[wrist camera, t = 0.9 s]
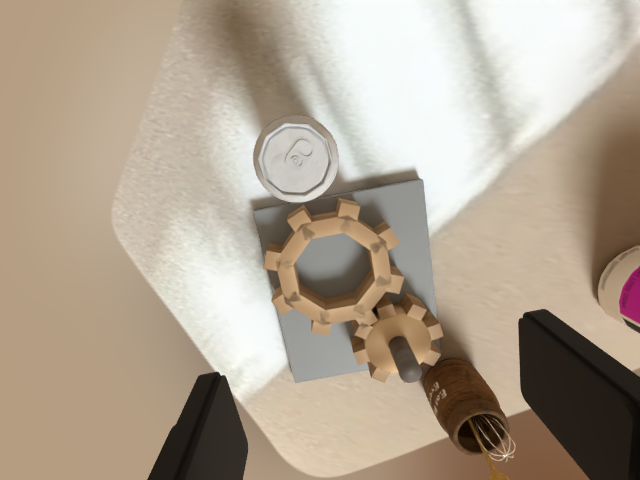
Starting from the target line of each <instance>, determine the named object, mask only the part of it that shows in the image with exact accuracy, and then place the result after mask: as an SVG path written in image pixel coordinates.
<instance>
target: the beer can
mask: <svg viewBox="0 0 640 480" xmlns="http://www.w3.org/2000/svg"><path fill="white" fill-rule="evenodd" d="M253 161H254V167H255V171H256V175H257V177H258V179H259V180H260V182H261V184H262V185H263V187H264V188H265V189H266V190H267V191H268V192H270V193H271V194H272V195H274V196H275V197H277V198H279V199H281V200H285V201H288V202H306V201H309V200H312V199H315V198H317V197H318V196H320V195H321V194H323V193H324V192H325V191H326V190H327V189H328V188H329V187H330V185H331V184H332V182H333V181H334V179H335V176H336V173H337V171H338V164H339V155H338V149H337V145H336V142H335V140H334V138H333V136H332V135H331V133H330V132H329V131H328V130H327V129H326V128H325V127H324V126H323V125H322V124H321V123H319V122H318V121H316V120H315V119H312V118H310V117H306V116H302V115H288V116H284V117H281V118H279V119H276V120H275V121H273V122H272V123H270V124H269V125H268V126H267V127H266V128H265V129H264V130H263V131H262V132H261V134H260V136H259V138H258V139H257V141H256V145H255V148H254V154H253Z"/></svg>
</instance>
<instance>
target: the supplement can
mask: <svg viewBox="0 0 640 480" xmlns="http://www.w3.org/2000/svg"><path fill="white" fill-rule="evenodd" d="M598 297H599V304H600V305H601V307H602V308H603V310H604V311H605V313H606V314H607V315H609V316H611V317H612V318H614V319H616V320H617V321H619V322H621V323H623V324H624V325H626V326H628V327H629V328H631V329H633V330H635V331H636V332H638V333H640V245H638V246H635V247H633V248H631V249H629V250H627V251H625V252H623V253H621V254H619V255H618V256H616V257H615V258H614V259H613V260H612V261H611V262H610V263H609V264H608V265H607V266H606V268H605V269H604V271H603V273H602V274H601V276H600V281H599V285H598Z"/></svg>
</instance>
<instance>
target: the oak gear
mask: <svg viewBox="0 0 640 480" xmlns="http://www.w3.org/2000/svg"><path fill="white" fill-rule="evenodd" d="M359 211H360V206H359V204H358V203H357V202H355V201H351V200H346V199H341V198H338V203H337V207H336V211H334V212H329V213H323V214H318V215H313V216H311V214H310V213H309V211H308V210H307V208H306V207H305V205H302V206H301V207H299V208H298V209H296V210H295V211H293V212H292V213H290V214H289V215H288V219H287V221H288V223H289V224H290V226H291V227H292V228H293V231H292V233H291V234H290V236H289V237H288V238H287V240H286V241H285V243H284V244H283V245H281V244H276V243H271V242H270V244H269V246H268V249H267V252H266V257H265V263H264V268H263V269H269V270H274V271H278V275H279V280H280V284H281V286H279V287H278V288H276V289H274V293H273V297H272V303H273V304H274V305H275V307H276V308H277V309H278V311H279V312H280V313H281V314H282V315H283V314H285V313H287V312H288V311H290V310H292V309H293V308H294V309H295V310H297V311H299V312H300V313H302V314H304V315H305V316H307V317H309V318H310V319H311V333H317V334H322V335H328V336H329V333H330V329H331V325H332V324H334V323H339V322H345V321H350V320H356V321H357V322H358V323H359V325H360V324H361V325H363V326H364V325H365V326H364V327H366V324H367V326H369V325H371V324H373V323H375V322H376V321H378V319H377V317H376V314H375V311H374V309H373V307H374V306H375V305H376V304H377V302H378V301H379V300H380V299H381V297H382V296H383V295H384V293H385V292H386V291H387V292H392V293H397V294H399V293H400V290H401V287H402V283H403V280H404V276H403V274H402V273H401V272H400V270H399V269H398V267H395V266H390V264H389V257H388V250H390V249H391V248H393V247H395V246H396V245H398V244H400V242H399V241H398V239H397V237H396V236H395V234H394V232H393V231H392V229H391V228H390V226H389V225H388V224H387V223H386V222H385V221H383V222H382V223H380V224H379V225H377V226H375V227H374V228H372V227H370V226H369V225H367V224H366V223H364V222H363V221H361V220H360V219H359V218H358V215H359ZM341 233H345V234H347V235H348V236H350V237H351V238H353V239H354V240H356V241H357V242H359V243H360V244H362V245H363V246H365V247H366V248H367V252H368V259H369V265H370V271H369V272H368V274H367V275H366V276H365V278H364V279H363V280H362V282H361V283H360V284H359V285H358V287H357V288H356V289H355V291H354V292H353V293H349V294H343V295H338V296H333V297H327V298H324V297H322V296H320V295H319V294H317V293H316V292H314V291H312V290H311V289H309V288H308V287H306V286H304V285H303V284H301V283H300V279H299V275H298V270H297V265H296V260H297V259H298V257H299V256H300V255H301V253H302V252H303V250H304V249H305V247H306V246H307V245H308V243H309V242H310V240H311V239H314V238H319V237H325V236H330V235H335V234H341ZM364 323H365V324H364ZM364 327H362V326H361V328H362V329H363V328H364Z"/></svg>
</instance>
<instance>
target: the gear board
mask: <svg viewBox="0 0 640 480" xmlns="http://www.w3.org/2000/svg"><path fill="white" fill-rule="evenodd" d="M338 198H341V199H346V200H351V201H355V202H357V203H358V204H359V206H360V211H359V215H358V218H359V219H360V220H361V221H363V222H364V223H366V224H367V225H369V226H370V227H372V228H374V227H375V226H377V225H379V224H380V223H382V222H383V221H385V222H386V223H387V224H388V225H389V226H390V228H391V229H392V231H393V232H394V234H395V236H396V237H397V239H398V241H399V242H400V244H398V245H396V246H395V247H393V248H391V249H390V250H388V257H389V264H390V266H395V267H398V269H399V270H400V272H401V273H402V274H403V276H404V280H403V283H402V287H401V290H400V293H399V294H397V293H392V292H387V291H386V293H387V294H388V296H389V298H390V300H391V302H396V303H400V301H401V300H402V298H403V296H404V294H405V292H406V293H408V294H411V295H413V296H415V297H418V298H419V299H420V301H421V302H422V304H423V305H424V306H425V308H426V309H427V311H431V312H432V314H433V315H434V316H435V318H436V319H437V312H436V303H435V293H434V283H433V273H432V263H431V253H430V243H429V234H428V224H427V214H426V204H425V194H424V184H423V180H422V179H415V180H409V181H404V182H399V183H394V184H388V185H383V186H378V187H372V188H367V189H362V190H357V191H351V192H346V193H341V194H335V195H330V196H325V197H320V198H315V199H312V200H309V201H306V202H293V203H288V204H283V205H277V206H272V207H267V208H261V209H256V210H254V217H255V221H256V225H257V229H258V233H259V237H260V241H261V245H262V250H263V254H264V258H265V257H266V252H267V249H268V246H269V244H270V242H271V243H276V244H281V245H283V244H284V243H285V241H286V240H287V238H288V237H289V236H290V234H291V233H292V231H293V228H292V227H291V226H290V224H289V223H288V221H287V219H288V215H289V214H290V213H292V212H293V211H295V210H296V209H298V208H299V207H301V206H302V205H305V207H306V208H307V210H308V211H309V213H310V214H311V216H313V215H318V214H323V213H329V212H334V211H336V207H337V203H338ZM296 265H297V270H298V275H299V279H300V283H301V284H303V285H304V286H306V287H308V288H309V289H311V290H312V291H314V292H316V293H317V294H319V295H320V296H322V297H324V298H327V297H333V296H338V295H343V294H349V293H353V292H354V291H355V289H356V288H357V287H358V285H359V284H360V283H361V282H362V280H363V279H364V278H365V276H366V275H367V274H368V272H369V271H370V265H369V259H368V252H367V248H366V247H365V246H363V245H362V244H360V243H359V242H357V241H356V240H354V239H353V238H351V237H350V236H348V235H347V234H345V233H341V234H335V235H330V236H325V237H319V238H314V239H311V240H310V242H309V243H308V245H307V246H306V247H305V249H304V250H303V252H302V253H301V255H300V256H299V257H298V259H297V260H296ZM267 270H268V274H269V278H270V283H271V287H272V291H273V293H274V289H276V288H278V287H279V286H281V284H280V280H279V275H278V271H274V270H269V269H267ZM375 308H376V306H374V307H373V309H375ZM277 311H278V309H277ZM427 311H426V312H427ZM278 316H279V320H280V324H281V328H282V332H283V336H284V340H285V344H286V349H287V353H288V357H289V361H290V365H291V369H292V373H293V377H294V382H295V383H299V382H305V381H310V380H316V379H321V378H327V377H333V376H338V375H344V374H349V373H355V372H361V371H366V370H369V367H368V364H367V363H364V364H361V365H358V364H357V361H356V359H355V356H354V354H353V349H352V345H351V340H350V338H352V337H355V336H356V335H354V331H353V326H352V322H351V321H352V320H350V321H345V322H339V323H334V324H332V325H331V329H330V333H329V336H328V335H322V334H317V333H311V319H310V318H309V317H307V316H305V315H304V314H302V313H300V312H299V311H297V310H295V309H294V308H293V309H292V310H290V311H288V312H287V313H285V314H283V315H282V314H281V313H280V312H279V311H278ZM432 341H433V342H434V344H435V345H436V347H437V349H438V350H439V352H440V342H439V338H438V339H435V340H432ZM440 353H441V352H440ZM440 357H441V355H440Z"/></svg>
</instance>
